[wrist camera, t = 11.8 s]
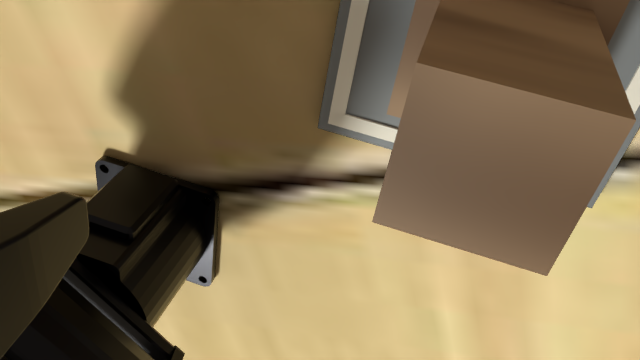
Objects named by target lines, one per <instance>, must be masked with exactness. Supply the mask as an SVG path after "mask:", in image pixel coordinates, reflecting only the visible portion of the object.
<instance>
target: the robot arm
mask: <svg viewBox="0 0 640 360" xmlns="http://www.w3.org/2000/svg"><path fill="white" fill-rule="evenodd" d="M106 166H107V167H108V168H107V167H106ZM95 168H96V178H97V187H98V192H97V193H96V194H95V195H94V196H93V197H92V198H91V199H89V200H88V201H87V202H86V201H85V199H84V198H83V197H80V196H77V195H74V194H71V193H68V192H60V193H56V194H53V195H51V196H48V197H45V198H42V199H39V200H36V201H33V202H30V203H27V204H24V205H21V206H18V207H15V208H12V209H9V210H6V211H3V212H0V360H183V357H184V354H185V353H184V352H182V351H181V350H180V349H179V348H178V347H177V346H173V345H172V344H171V343H170V342H168V341H167V340H166V339H165V338H164V337H163V336H162V335H161V334H160V333H159V332H157V331H156V330H155V329H154V328H153V326H154V325H155V324H156V322H157V321H158V319H159V318H160V316H161V315H162V313H163V312H164V311H165V309H166V308H167V306H168V305H169V303H170V302H171V301H172V299H173V298H174V296H175V295H176V293H177V292H178V290H179V289H180V288H181V286H182V285H183V283H184V282H185V280H187V281H190V282H193V283H196V284H199V285H201V286H209V285H211V283H212V282H213V280H214V277H215V260H216V244H217V228H218V211H219V197H218V195H217V193H216V192H215V191H213V190H211V189H209V188H205V187H202V186H199V185H196V184H193V183H190V182H187V181H183V180H180V179H177V178H174V177H171V176H168V175H165V174H161V173H158V172H155V171H152V170H149V169H146V168H143V167H139V166H136V165H133V164H130V163H127V162H124V161H121V160H117V159H114V158H111V157H108V156H104V157H101V158H100V159H99V160H98V161H97V162H96V164H95ZM205 197H206V198H208V199H209V200H210V201H208V200H207V199H206V198H205Z"/></svg>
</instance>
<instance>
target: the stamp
mask: <svg viewBox="0 0 640 360" xmlns="http://www.w3.org/2000/svg"><path fill="white" fill-rule="evenodd" d="M629 1H630V0H416V2H415V6H414V9H413V13H412V17H411V21H410V25H409V29H408V33H407V37H406V40H405V44H404V48H403V52H402V56H401V60H400V64H399V68H398V72H397V75H396V79H395V83H394V87H393V91H392V95H391V99H390V103H389V106H388V110H387V114H388V115H391V116H395V117H398V118H401V120H400V123H399V127H398V131H397V134H396V138H395V141H394V145H393V149H392V152H391V156H390V159H389V163H388V167H387V170H386V174H385V178H384V181H383V185H382V188H381V192H380V196H379V199H378V203H377V206H376V210H375V214H374V217H373V221H372V222H374V223H377V224H380V225H383V226H387V227H390V228H393V229H396V230H400V231H403V232H406V233H409V234H413V235H416V236H419V237H422V238H425V239H429V240H432V241H435V242H438V243H442V244H445V245H448V246H451V247H455V248H458V249H461V250H464V251H468V252H471V253H474V254H477V255H481V256H484V257H487V258H490V259H493V260H497V261H500V262H503V263H506V264H510V265H513V266H516V267H519V268H523V269H526V270H529V271H532V272H536V273H539V274H542V275H545V276H547V275H548V273H549V271H550V270H551V268H552V266H553V264H554V263H555V261H556V259H557V257H558V256H559V254H560V252H561V251H562V249H563V247H564V245H565V244H566V242H567V240H568V238H569V237H570V235H571V233H572V231H573V230H574V228H575V226H576V224H577V223H578V221H579V219H580V217H581V216H582V214H583V212H584V211H585V209H586V207H587V205H588V204H589V202H590V200H591V198H592V197H593V195H594V193H595V191H596V190H597V188H598V186H599V184H600V183H601V181H602V179H603V177H604V176H605V174H606V172H607V170H608V169H609V167H610V165H611V164H612V162H613V160H614V158H615V157H616V155H617V153H618V151H619V150H620V148H621V146H622V144H623V143H624V141H625V139H626V137H627V136H628V134H629V132H630V130H631V129H632V127H633V125H634V124H635V122H636V118H635V116H634V113H633V110H632V108H631V105H630V103H629V100H628V98H627V95H626V93H625V90H624V87H623V85H622V82H621V80H620V77H619V75H618V72H617V70H616V67H615V64H614V62H613V59H612V57H611V54H610V52H609V49H608V47H607V46H608V44H609V42H610V40H611V38H612V36H613V34H614V32H615V30H616V28H617V26H618V24H619V22H620V20H621V18H622V16H623V14H624V12H625V10H626V8H627V5H628V3H629Z"/></svg>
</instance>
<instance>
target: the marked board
mask: <svg viewBox="0 0 640 360" xmlns="http://www.w3.org/2000/svg"><path fill="white" fill-rule="evenodd" d="M415 2H416V0H341V1H340V7H339V12H338V18H337V23H336V29H335V34H334V40H333V45H332V51H331V56H330V62H329V68H328V73H327V79H326V84H325V90H324V95H323V101H322V106H321V112H320V117H319V123H318V128H319V129H323V130H326V131H329V132H333V133H336V134H340V135H343V136H347V137H350V138H353V139H357V140H360V141H364V142H367V143H370V144H374V145H377V146H381V147H384V148H388V149H391V150H392V149H393V145H394V141H395V138H396V134H397V131H398V127H399V123H400V120H401V118H398V117H395V116H391V115H388V114H387V110H388V106H389V103H390V99H391V95H392V91H393V87H394V83H395V79H396V75H397V72H398V68H399V64H400V60H401V56H402V52H403V48H404V44H405V40H406V37H407V33H408V29H409V25H410V21H411V17H412V13H413V9H414V6H415ZM607 47H608V49H609V52H610V54H611V57H612V59H613V62H614V64H615V67H616V70H617V72H618V75H619V77H620V80H621V82H622V85H623V87H624V90H625V93H626V95H627V98H628V100H629V103H630V105H631V108H632V110H633V113H634V116H635V118H636V122H635V124H634V125H633V127H632V129H631V130H630V132H629V134H628V136H627V137H626V139H625V141H624V143H623V144H622V146H621V148H620V150H619V151H618V153H617V155H616V157H615V158H614V160H613V162H612V164H611V165H610V167H609V169H608V170H607V172H606V174H605V176H604V177H603V179H602V181H601V183H600V184H599V186H598V188H597V190H596V191H595V193H594V195H593V197H592V198H591V200H590V202H589V204H588V205H587V207H589V208H592V207H593V205H594V203H595V202H596V200H597V198H598V197H599V195H600V193H601V192H602V190H603V188H604V187H605V185H606V183H607V181H608V180H609V178H610V176H611V175H612V173H613V171H614V170H615V168H616V166H617V165H618V163H619V161H620V159H621V158H622V156H623V154H624V153H625V151H626V149H627V148H628V146H629V144H630V143H631V141H632V139H633V138H634V136H635V134H636V132H637V131H638V129H639V127H640V0H630V1H629V3H628V5H627V8H626V10H625V12H624V14H623V16H622V18H621V20H620V22H619V24H618V26H617V28H616V30H615V32H614V34H613V36H612V38H611V40H610V42H609V44H608V46H607Z"/></svg>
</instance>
